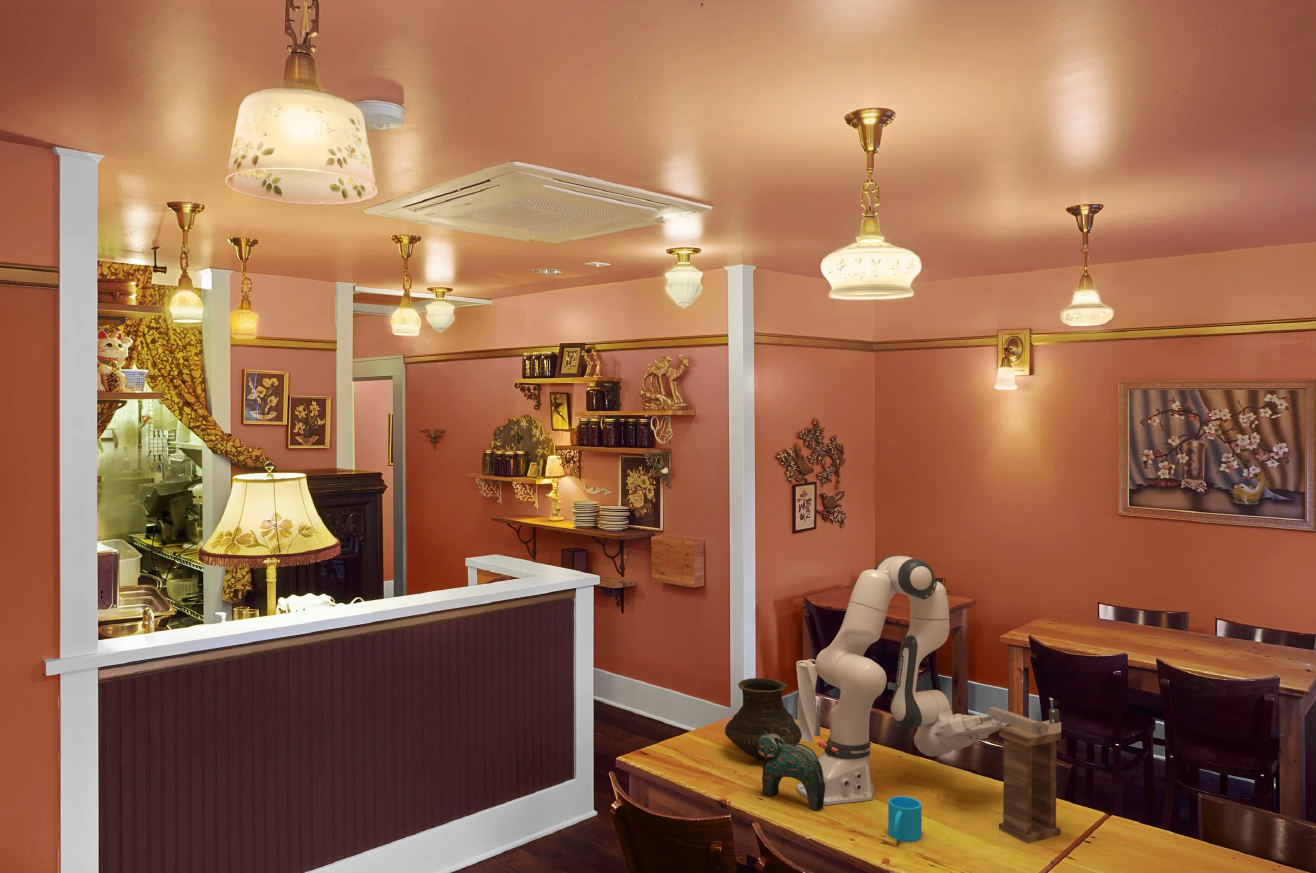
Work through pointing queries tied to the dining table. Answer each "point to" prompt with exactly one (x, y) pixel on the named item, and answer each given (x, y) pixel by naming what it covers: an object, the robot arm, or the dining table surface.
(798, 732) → the ceramic pot
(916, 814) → the mug
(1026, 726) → the crank handle
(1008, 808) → the shelf stand
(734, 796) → the dining table surface
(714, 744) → the dining table surface
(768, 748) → the ceramic cat
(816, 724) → the skyscraper
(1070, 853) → the dining table surface
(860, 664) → the robot arm
